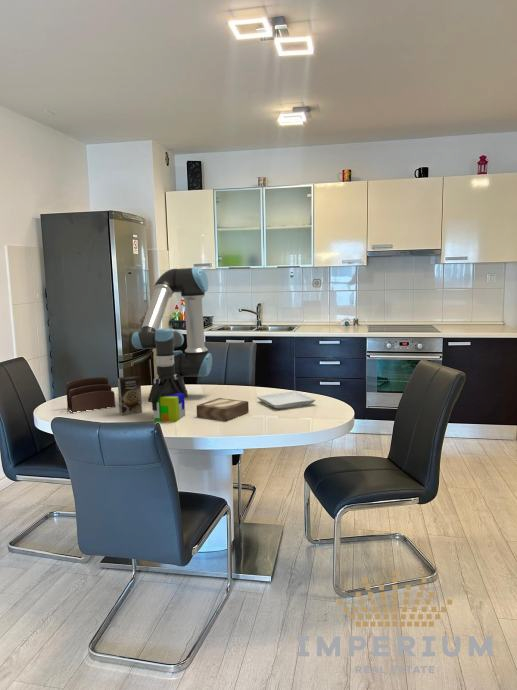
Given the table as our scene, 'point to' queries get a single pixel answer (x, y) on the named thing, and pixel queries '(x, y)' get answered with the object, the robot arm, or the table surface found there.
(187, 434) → the table surface
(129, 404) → the coffee box
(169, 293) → the robot arm
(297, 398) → the salad plate
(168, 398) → the puzzle toy
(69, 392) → the letter holder
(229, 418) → the plinth
